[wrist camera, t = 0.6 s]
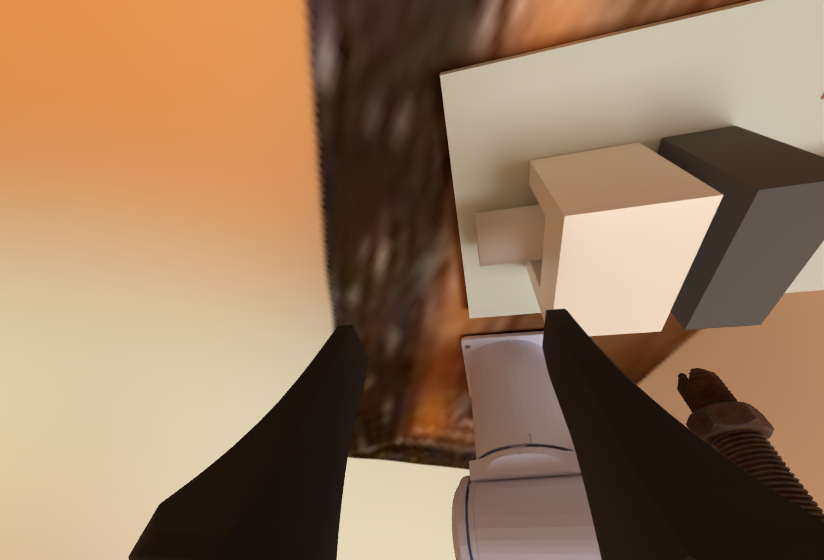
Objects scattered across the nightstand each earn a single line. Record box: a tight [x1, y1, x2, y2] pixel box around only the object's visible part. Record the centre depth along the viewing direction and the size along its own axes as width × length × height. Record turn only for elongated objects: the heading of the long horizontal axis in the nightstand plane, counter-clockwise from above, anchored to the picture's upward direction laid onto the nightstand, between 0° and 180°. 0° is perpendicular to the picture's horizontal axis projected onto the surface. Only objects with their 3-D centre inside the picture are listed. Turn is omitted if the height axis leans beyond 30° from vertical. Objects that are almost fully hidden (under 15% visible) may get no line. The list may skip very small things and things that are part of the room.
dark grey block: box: [658, 126, 824, 330], centre depth 14 cm, size 7×3×6 cm, turn 12°
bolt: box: [677, 368, 824, 522], centre depth 22 cm, size 6×5×15 cm
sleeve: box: [526, 142, 723, 336], centre depth 15 cm, size 7×5×6 cm
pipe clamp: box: [440, 0, 824, 318], centre depth 15 cm, size 16×26×6 cm, turn 102°
